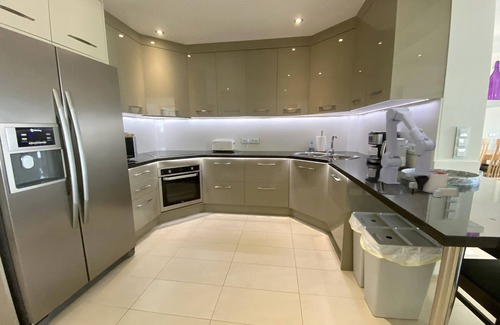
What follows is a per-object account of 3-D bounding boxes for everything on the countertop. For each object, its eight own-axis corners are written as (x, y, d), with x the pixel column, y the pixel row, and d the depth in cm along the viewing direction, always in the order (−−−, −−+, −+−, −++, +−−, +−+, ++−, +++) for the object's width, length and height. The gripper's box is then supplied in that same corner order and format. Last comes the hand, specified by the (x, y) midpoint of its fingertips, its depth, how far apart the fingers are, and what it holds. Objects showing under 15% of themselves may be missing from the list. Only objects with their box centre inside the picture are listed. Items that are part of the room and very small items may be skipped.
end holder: (415, 188, 118) (416, 180, 118) (433, 188, 118) (434, 180, 117) (437, 196, 104) (438, 187, 103) (458, 196, 104) (459, 187, 103)
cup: (451, 194, 107) (453, 174, 105) (432, 194, 106) (434, 175, 105) (432, 188, 117) (434, 170, 115) (415, 189, 116) (417, 171, 114)
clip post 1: (408, 187, 120) (409, 182, 120) (413, 187, 120) (413, 182, 120) (411, 188, 118) (412, 183, 118) (415, 188, 118) (416, 182, 118)
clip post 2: (432, 196, 104) (433, 190, 104) (437, 196, 104) (438, 190, 104) (436, 197, 102) (437, 191, 102) (441, 197, 102) (442, 191, 102)
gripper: (414, 165, 105) (411, 192, 107) (444, 165, 105) (441, 192, 107) (404, 163, 112) (401, 188, 114) (432, 162, 112) (429, 188, 114)
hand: (420, 190), depth 111 cm, fingers closed
